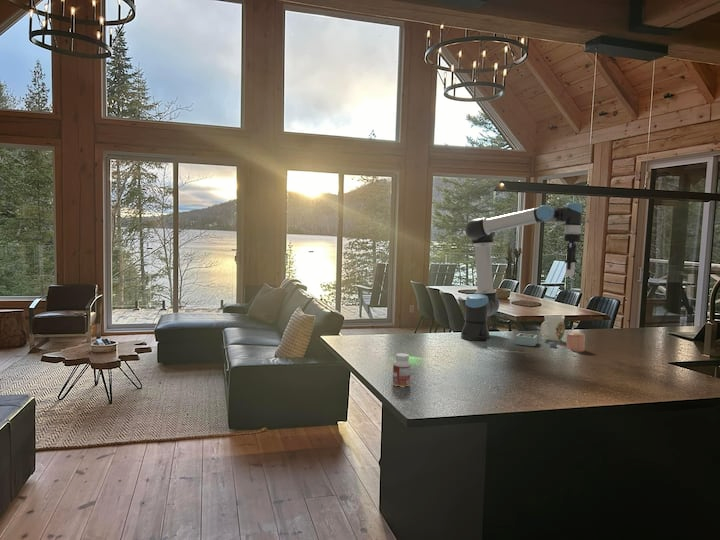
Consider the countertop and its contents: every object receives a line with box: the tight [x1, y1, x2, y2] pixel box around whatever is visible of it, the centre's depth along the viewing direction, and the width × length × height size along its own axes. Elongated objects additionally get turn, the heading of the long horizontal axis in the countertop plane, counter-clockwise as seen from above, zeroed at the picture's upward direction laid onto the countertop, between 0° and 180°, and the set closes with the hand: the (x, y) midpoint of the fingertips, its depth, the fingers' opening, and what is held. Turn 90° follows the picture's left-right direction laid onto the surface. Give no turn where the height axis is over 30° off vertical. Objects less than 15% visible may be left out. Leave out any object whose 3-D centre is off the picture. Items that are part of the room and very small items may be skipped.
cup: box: [565, 331, 586, 353], centre depth 262 cm, size 8×8×8 cm
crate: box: [515, 332, 538, 347], centre depth 269 cm, size 9×9×5 cm
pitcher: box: [540, 314, 566, 342], centre depth 282 cm, size 11×18×14 cm, turn 122°
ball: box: [549, 341, 557, 349], centre depth 263 cm, size 3×3×3 cm
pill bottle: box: [392, 352, 411, 387], centre depth 187 cm, size 6×6×11 cm
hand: (569, 275), depth 268 cm, fingers open, 13 cm apart
